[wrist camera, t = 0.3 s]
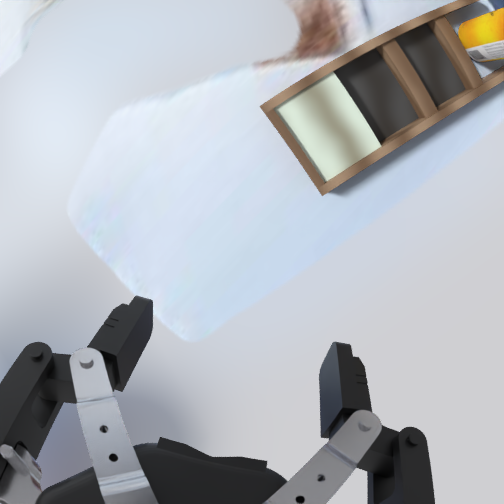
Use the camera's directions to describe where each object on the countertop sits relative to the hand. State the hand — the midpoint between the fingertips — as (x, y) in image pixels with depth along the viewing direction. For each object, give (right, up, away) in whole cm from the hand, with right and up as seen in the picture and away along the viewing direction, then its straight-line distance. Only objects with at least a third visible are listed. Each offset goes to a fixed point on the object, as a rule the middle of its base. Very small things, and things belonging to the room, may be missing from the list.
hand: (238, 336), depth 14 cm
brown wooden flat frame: (+20, +25, +18) cm, 36 cm away
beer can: (+30, +32, +15) cm, 46 cm away
